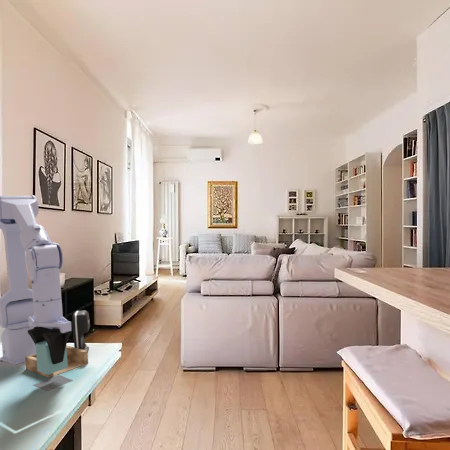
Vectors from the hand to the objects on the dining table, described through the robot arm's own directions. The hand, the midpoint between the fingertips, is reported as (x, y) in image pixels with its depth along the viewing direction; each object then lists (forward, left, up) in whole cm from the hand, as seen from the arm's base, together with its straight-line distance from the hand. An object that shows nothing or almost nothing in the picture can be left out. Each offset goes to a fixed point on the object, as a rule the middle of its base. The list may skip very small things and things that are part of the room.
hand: (51, 360), depth 83 cm
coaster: (0, 0, -5) cm, 5 cm away
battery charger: (-13, +16, -6) cm, 21 cm away
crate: (-9, +6, -5) cm, 12 cm away
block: (0, 0, -2) cm, 2 cm away
